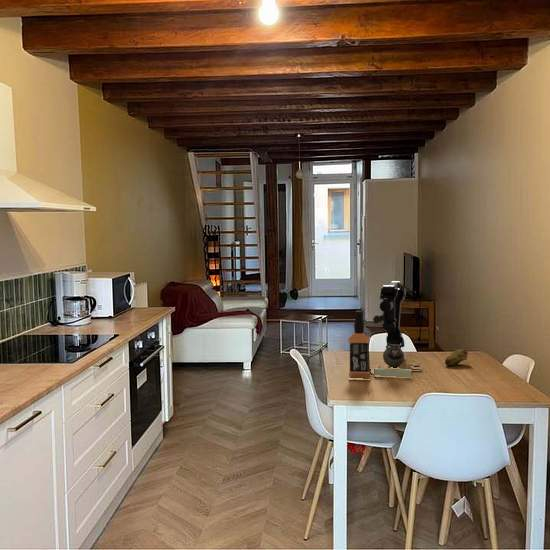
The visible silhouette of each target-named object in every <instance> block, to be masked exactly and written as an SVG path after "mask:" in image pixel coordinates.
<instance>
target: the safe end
mask: <svg viewBox="0 0 550 550" xmlns="http://www.w3.org/2000/svg"><path fill="white" fill-rule="evenodd" d="M373 368H374V374H373V376H374V375H380V376H396V377H411V378H412V375H411V369H407V368H402V369H387V368H381V367H379V368H376V367H373Z"/></svg>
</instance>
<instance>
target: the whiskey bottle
mask: <svg viewBox="0 0 550 550" xmlns="http://www.w3.org/2000/svg"><path fill="white" fill-rule="evenodd" d="M363 312H364V311H362V310H355V311H354V319H355V320H354V324H353V329H354V332H352V333H351V334H350V335H349V337H348V343H349V371H348V378H349V377H350V378H363V379H370V376H371V377H372V374H371V369H370V368H371V365H370V363H371V362H370V341H371V337H370V335H369V334H368V333H366V332H365V325H364V321H363V319H364V313H363Z"/></svg>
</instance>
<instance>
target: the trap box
mask: <svg viewBox="0 0 550 550" xmlns="http://www.w3.org/2000/svg"><path fill="white" fill-rule="evenodd" d="M408 365H409V366H414V367H420V369H412V368H409V369H411V370H421V371H422V372H423V367H422V366H423V365H422V364H421V365H419V364H412V363H409V364H408ZM409 366H408V367H409Z"/></svg>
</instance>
